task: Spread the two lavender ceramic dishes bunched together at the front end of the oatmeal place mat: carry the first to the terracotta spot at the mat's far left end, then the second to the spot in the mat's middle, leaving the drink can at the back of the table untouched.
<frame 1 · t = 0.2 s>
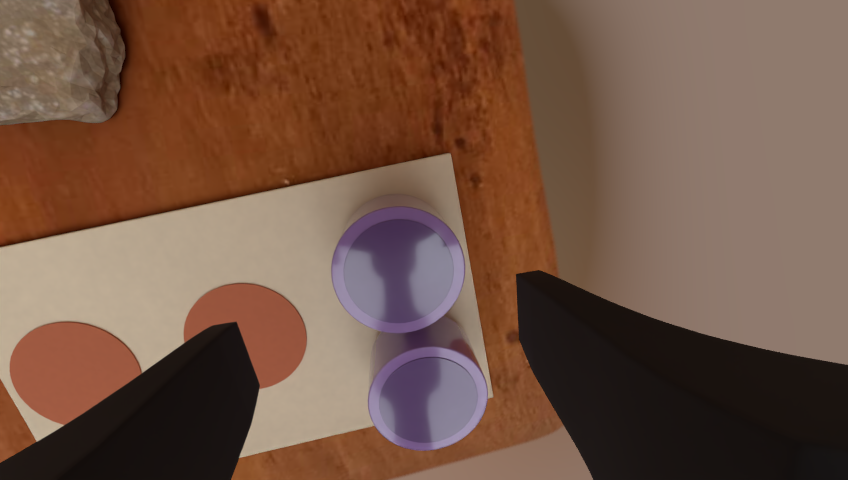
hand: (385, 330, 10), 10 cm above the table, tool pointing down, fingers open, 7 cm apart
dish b: (396, 245, 20), resting on mat
mat: (249, 334, 20), on the table
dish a: (420, 352, 21), resting on mat
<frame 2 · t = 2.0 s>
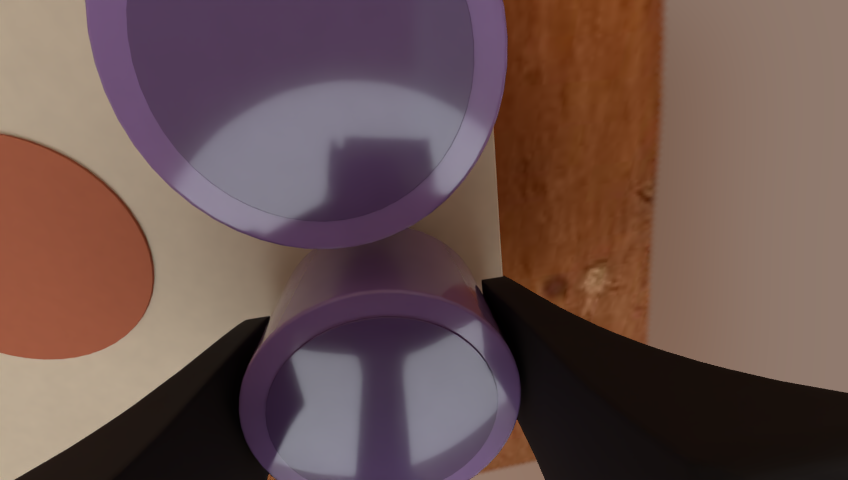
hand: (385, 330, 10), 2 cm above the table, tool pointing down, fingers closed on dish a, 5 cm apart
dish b: (339, 73, 9), resting on mat
mat: (34, 250, 10), on the table
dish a: (383, 306, 11), resting on mat, touching gripper
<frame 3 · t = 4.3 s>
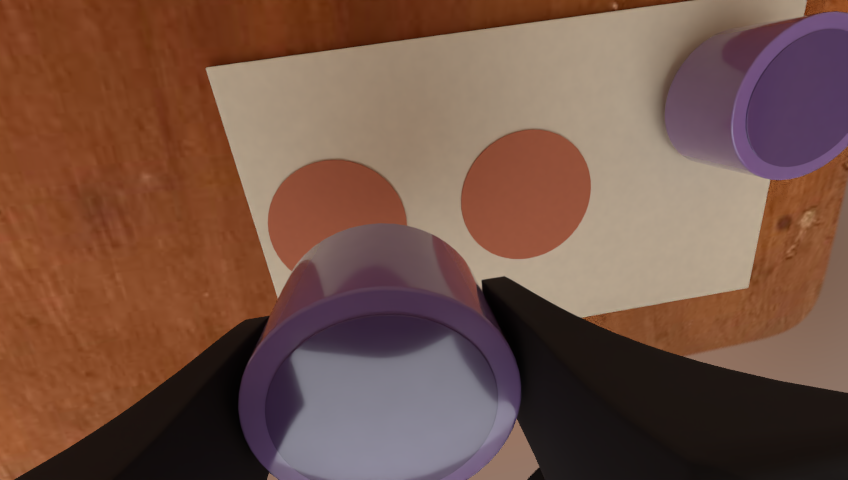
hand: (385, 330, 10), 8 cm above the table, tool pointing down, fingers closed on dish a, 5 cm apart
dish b: (714, 98, 17), resting on mat
mat: (523, 195, 18), on the table
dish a: (383, 305, 11), point 7 cm above the table, touching gripper
when the fingers open (2 cm above the table, at t = 6.6 s): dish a stays where it is, resting on mat.
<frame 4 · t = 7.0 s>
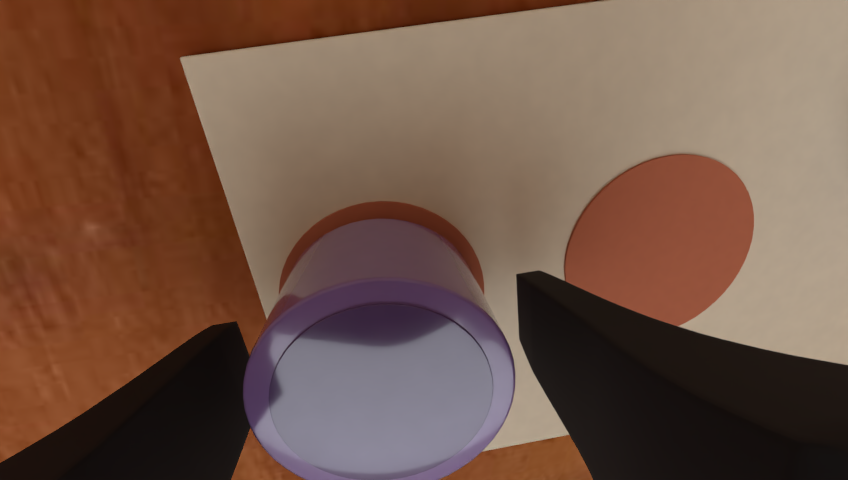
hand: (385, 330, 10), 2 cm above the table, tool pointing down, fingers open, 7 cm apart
mat: (649, 247, 12), on the table
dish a: (382, 298, 11), resting on mat
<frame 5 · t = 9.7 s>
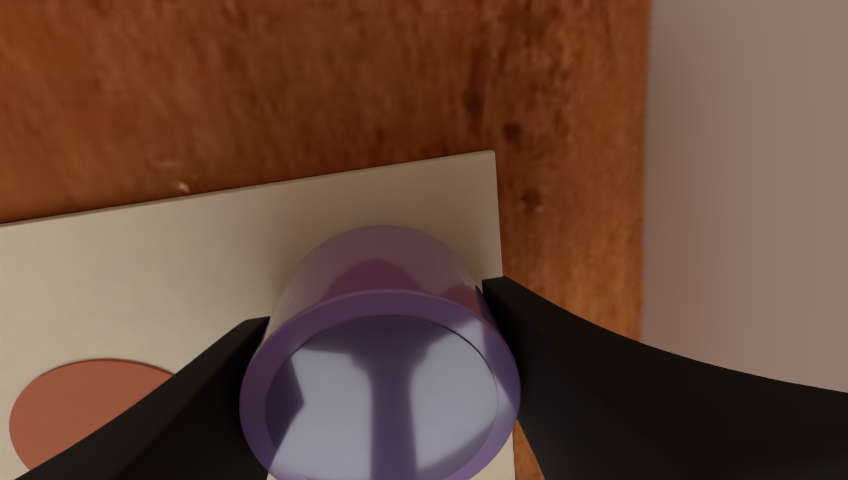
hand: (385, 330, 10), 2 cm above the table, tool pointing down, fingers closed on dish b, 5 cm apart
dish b: (383, 306, 11), resting on mat, touching gripper
mat: (133, 429, 12), on the table
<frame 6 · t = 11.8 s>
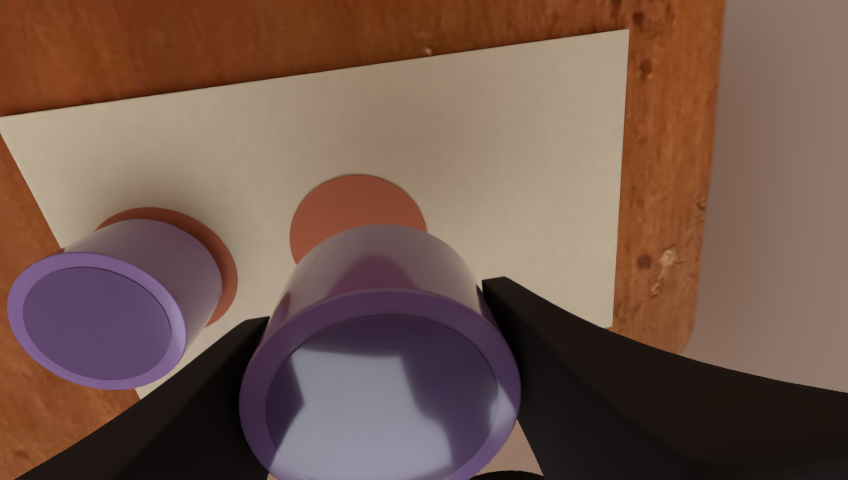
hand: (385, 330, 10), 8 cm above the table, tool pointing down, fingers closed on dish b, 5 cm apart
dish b: (383, 305, 11), point 7 cm above the table, touching gripper
mat: (360, 238, 18), on the table
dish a: (161, 273, 17), resting on mat
when the fingers open (2 cm above the table, at t = 13.9 s): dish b stays where it is, resting on mat.
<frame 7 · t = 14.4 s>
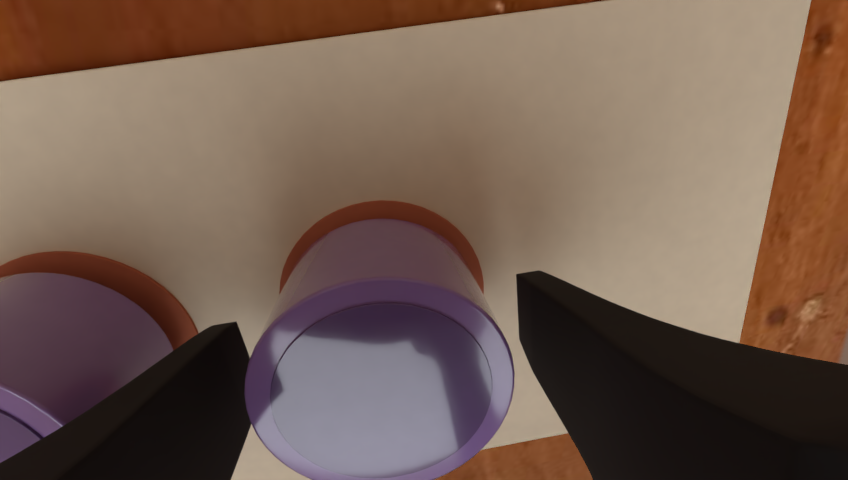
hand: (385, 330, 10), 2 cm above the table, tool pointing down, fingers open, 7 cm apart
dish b: (382, 298, 12), resting on mat
mat: (384, 291, 12), on the table
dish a: (86, 347, 11), resting on mat
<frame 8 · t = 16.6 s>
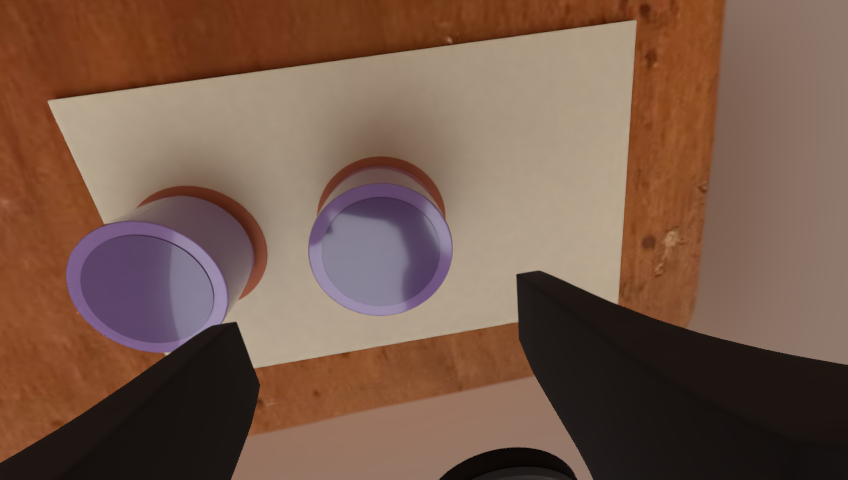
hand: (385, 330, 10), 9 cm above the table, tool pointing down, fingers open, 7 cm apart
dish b: (381, 220, 18), resting on mat
mat: (382, 217, 19), on the table
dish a: (197, 249, 18), resting on mat
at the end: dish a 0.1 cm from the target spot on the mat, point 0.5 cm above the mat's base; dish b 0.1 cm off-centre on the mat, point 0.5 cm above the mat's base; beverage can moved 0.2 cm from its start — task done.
